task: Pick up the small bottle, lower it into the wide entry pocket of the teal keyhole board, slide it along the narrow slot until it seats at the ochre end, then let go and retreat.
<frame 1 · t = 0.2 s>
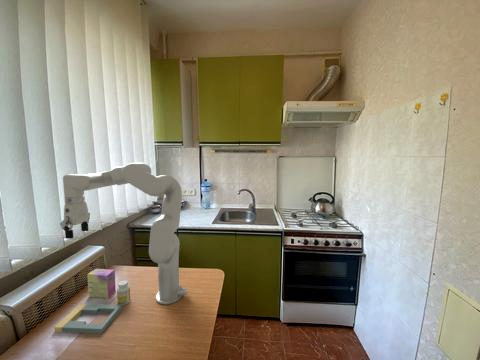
hand: (77, 234, 101), 31 cm above the table, tool pointing down, fingers open, 9 cm apart
box: (102, 294, 104), on the table
keyhole board: (90, 319, 88), on the table
supplement bottle: (124, 302, 99), on the table
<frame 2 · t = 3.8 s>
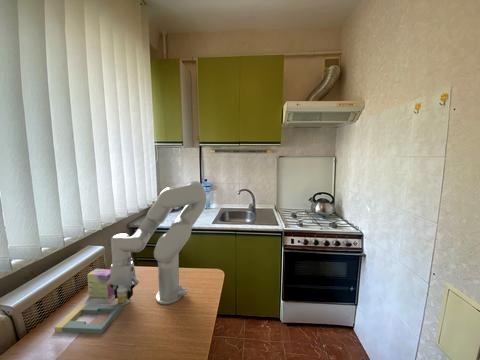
hand: (123, 296, 99), 2 cm above the table, tool pointing down, fingers closed on supplement bottle, 5 cm apart
supplement bottle: (124, 302, 99), on the table, touching gripper
everything else where it was.
when the fingers open (3 cm above the table, at t = 10.8 s): supplement bottle stays where it is, resting in keyhole board.
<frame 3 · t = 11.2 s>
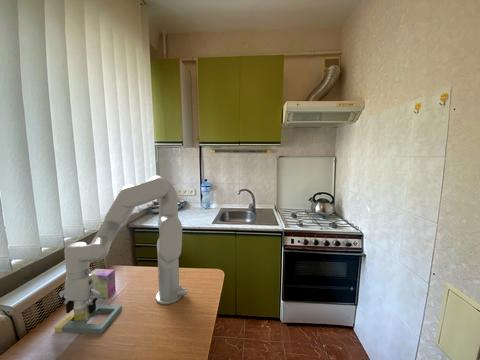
hand: (81, 311, 87), 4 cm above the table, tool pointing down, fingers open, 9 cm apart
supplement bottle: (82, 319, 88), resting in keyhole board
everything else where it was.
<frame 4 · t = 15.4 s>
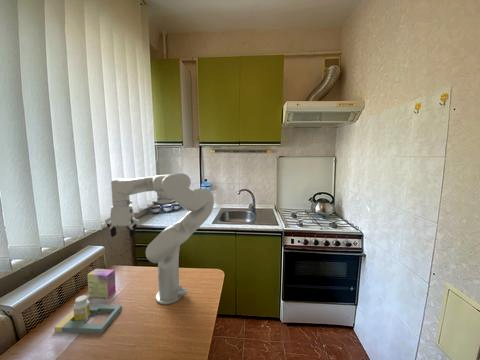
hand: (123, 236, 106), 28 cm above the table, tool pointing down, fingers open, 9 cm apart
nothing on the table moved.
at the end: supplement bottle 0.5 cm from the target spot on the keyhole board, point 0.0 cm above the keyhole board's base; supplement bottle tilted 0°; the gripper is holding nothing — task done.
